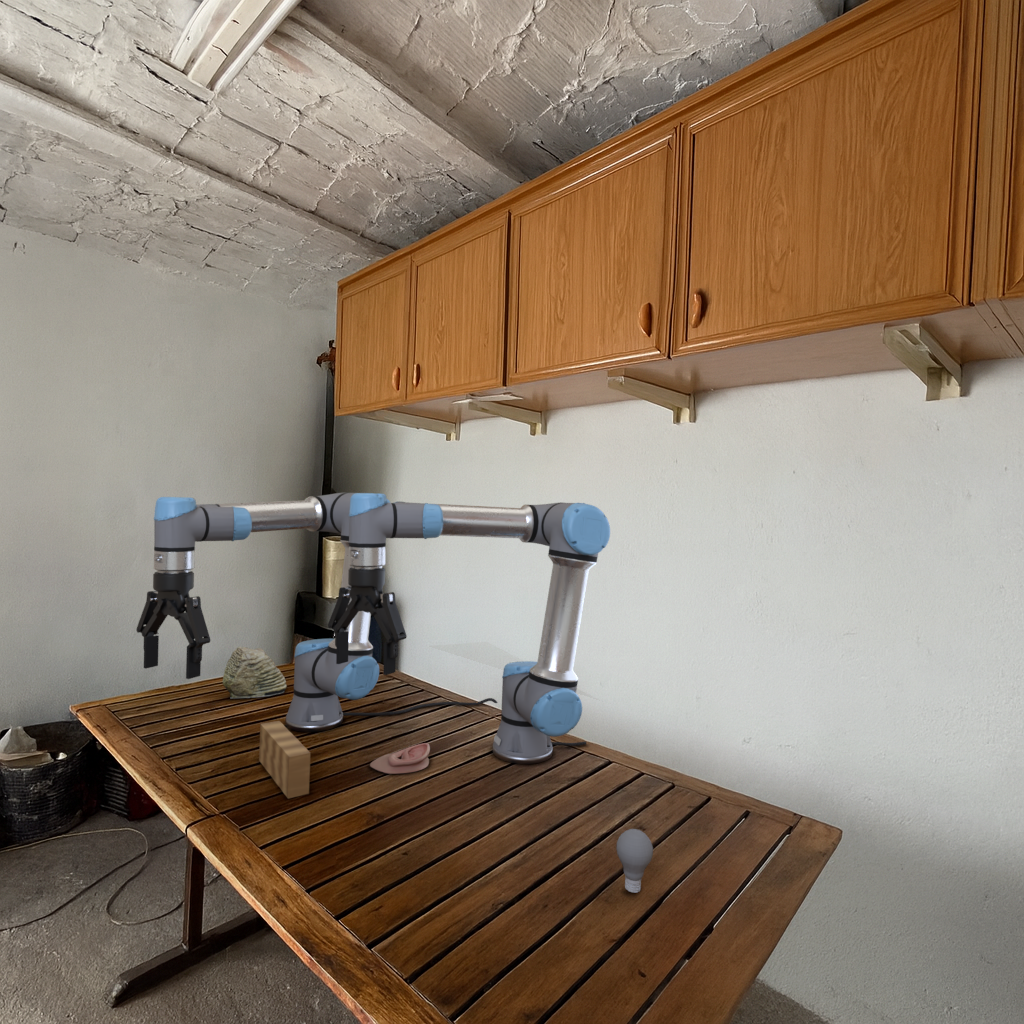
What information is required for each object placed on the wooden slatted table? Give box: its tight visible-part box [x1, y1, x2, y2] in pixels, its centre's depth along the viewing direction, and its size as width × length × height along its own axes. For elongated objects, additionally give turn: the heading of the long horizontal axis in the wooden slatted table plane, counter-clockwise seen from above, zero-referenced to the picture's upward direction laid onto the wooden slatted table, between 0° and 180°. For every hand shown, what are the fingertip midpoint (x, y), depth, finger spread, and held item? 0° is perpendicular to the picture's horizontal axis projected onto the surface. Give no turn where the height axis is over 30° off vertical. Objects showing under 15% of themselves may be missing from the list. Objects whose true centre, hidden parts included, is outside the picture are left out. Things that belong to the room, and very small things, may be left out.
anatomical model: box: [369, 742, 431, 775], centre depth 151 cm, size 13×4×12 cm
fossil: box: [222, 646, 288, 699], centre depth 198 cm, size 9×18×15 cm, turn 132°
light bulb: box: [615, 828, 654, 894], centre depth 106 cm, size 6×6×10 cm
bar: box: [258, 720, 311, 800], centre depth 143 cm, size 22×4×9 cm, turn 36°
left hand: (171, 672), depth 132 cm, fingers open, 13 cm apart
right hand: (365, 668), depth 133 cm, fingers open, 13 cm apart
